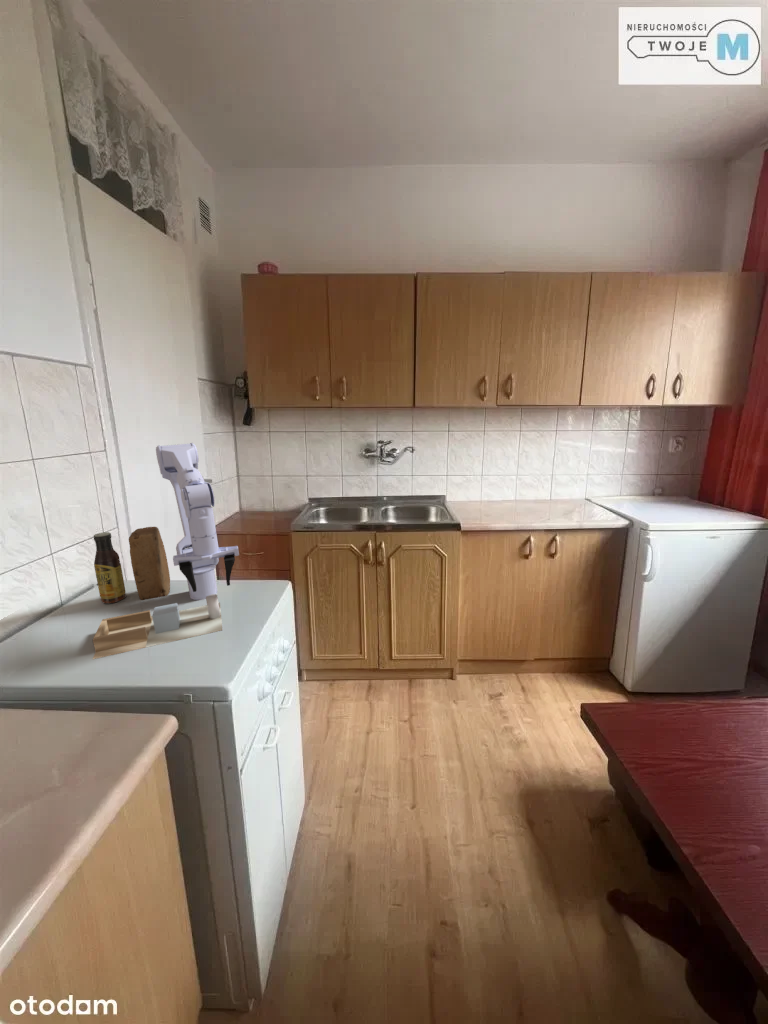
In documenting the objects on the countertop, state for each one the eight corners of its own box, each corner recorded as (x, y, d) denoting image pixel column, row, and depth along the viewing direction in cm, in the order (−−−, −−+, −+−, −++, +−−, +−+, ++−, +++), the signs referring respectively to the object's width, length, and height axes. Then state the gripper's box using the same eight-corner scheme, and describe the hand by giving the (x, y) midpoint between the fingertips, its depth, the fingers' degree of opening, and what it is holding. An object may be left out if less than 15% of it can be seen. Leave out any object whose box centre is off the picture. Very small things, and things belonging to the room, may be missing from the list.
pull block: (157, 624, 103) (153, 603, 102) (220, 611, 108) (216, 591, 107) (155, 633, 99) (151, 612, 97) (220, 619, 104) (217, 599, 102)
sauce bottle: (96, 603, 119) (80, 536, 114) (115, 594, 125) (101, 530, 120) (114, 605, 117) (98, 538, 113) (132, 596, 123) (119, 531, 118)
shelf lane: (108, 630, 104) (105, 613, 103) (220, 607, 114) (218, 592, 112) (93, 665, 90) (89, 646, 89) (223, 635, 99) (220, 618, 98)
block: (166, 600, 119) (153, 533, 114) (137, 604, 118) (123, 536, 113) (174, 585, 129) (163, 522, 124) (148, 589, 128) (135, 525, 123)
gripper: (168, 544, 94) (178, 599, 98) (236, 534, 99) (243, 587, 103) (170, 535, 100) (180, 588, 104) (234, 526, 106) (241, 577, 109)
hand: (211, 587), depth 104 cm, fingers open, 7 cm apart
